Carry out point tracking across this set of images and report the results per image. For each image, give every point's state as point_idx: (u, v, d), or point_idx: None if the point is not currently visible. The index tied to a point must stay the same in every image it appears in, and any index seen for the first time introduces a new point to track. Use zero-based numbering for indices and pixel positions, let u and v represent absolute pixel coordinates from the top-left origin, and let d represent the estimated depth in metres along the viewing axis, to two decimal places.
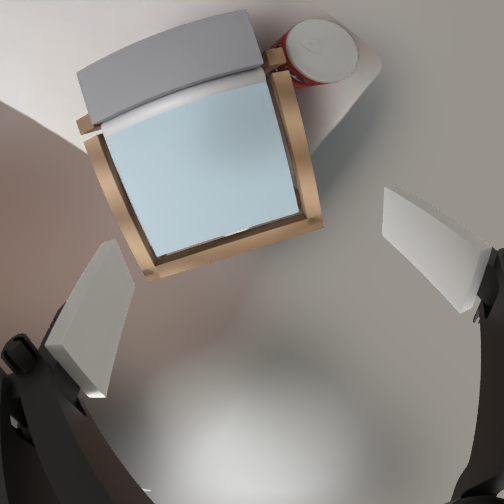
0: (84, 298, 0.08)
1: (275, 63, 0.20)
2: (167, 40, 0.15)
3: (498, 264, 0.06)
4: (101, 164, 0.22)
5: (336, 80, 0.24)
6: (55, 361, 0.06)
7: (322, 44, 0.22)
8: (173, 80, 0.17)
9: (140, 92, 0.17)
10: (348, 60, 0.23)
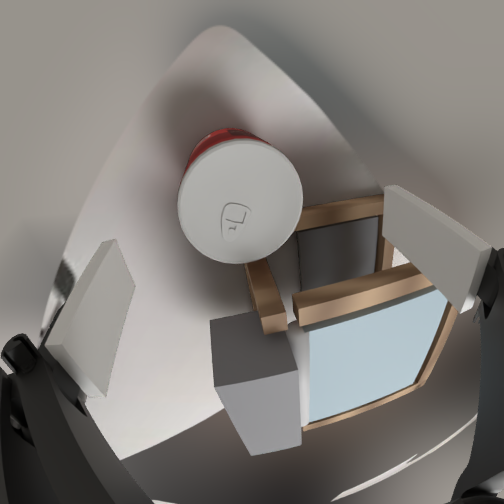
0: (84, 298, 0.08)
1: (285, 323, 0.17)
2: (247, 426, 0.18)
3: (498, 264, 0.06)
4: (327, 421, 0.25)
5: (300, 190, 0.16)
6: (55, 361, 0.06)
7: (231, 208, 0.17)
8: (292, 419, 0.19)
9: (292, 431, 0.20)
10: (258, 161, 0.15)
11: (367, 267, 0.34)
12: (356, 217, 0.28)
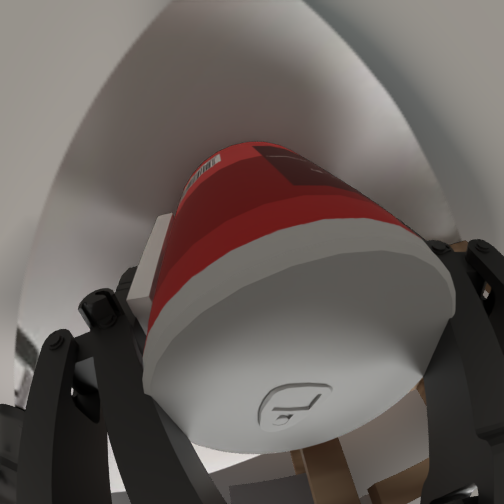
0: (159, 259, 0.10)
1: None
2: None
3: None
4: None
5: None
6: (134, 317, 0.08)
7: (288, 394, 0.06)
8: None
9: None
10: (385, 290, 0.05)
11: None
12: None
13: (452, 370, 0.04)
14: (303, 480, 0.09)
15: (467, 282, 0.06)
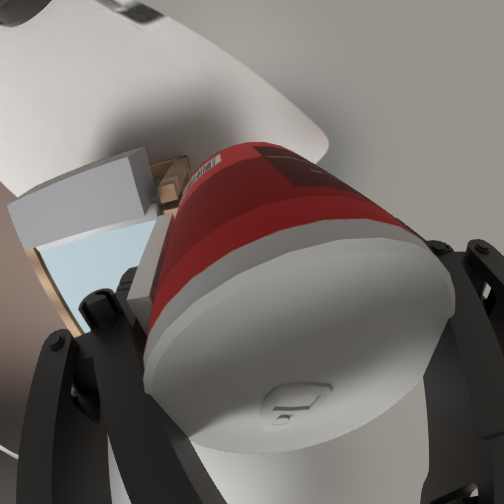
0: (159, 259, 0.10)
1: (166, 200, 0.23)
2: (65, 189, 0.19)
3: None
4: (39, 269, 0.24)
5: None
6: (134, 317, 0.08)
7: (288, 394, 0.06)
8: (74, 227, 0.21)
9: (52, 233, 0.20)
10: (385, 291, 0.05)
11: None
12: None
13: (452, 370, 0.04)
14: (152, 179, 0.25)
15: (467, 282, 0.06)
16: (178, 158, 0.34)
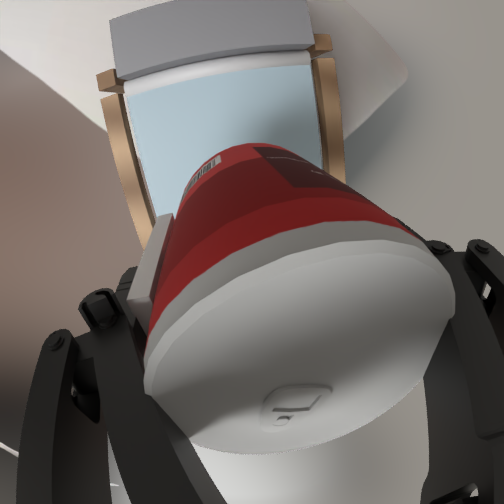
0: (159, 258, 0.10)
1: (321, 49, 0.18)
2: (217, 2, 0.13)
3: None
4: (116, 126, 0.19)
5: None
6: (134, 317, 0.08)
7: (288, 395, 0.06)
8: (217, 43, 0.15)
9: (178, 50, 0.15)
10: (385, 292, 0.05)
11: None
12: None
13: (452, 370, 0.04)
14: None
15: (467, 282, 0.06)
16: None
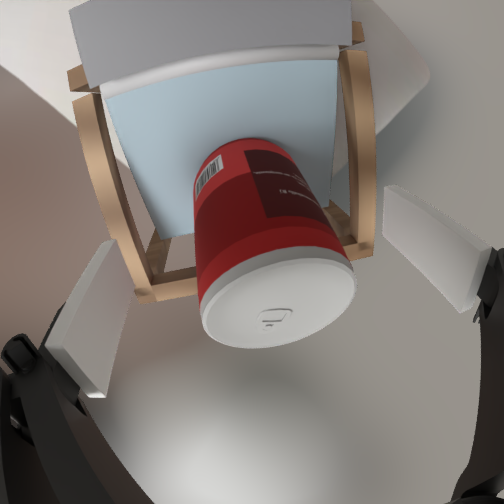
0: (84, 298, 0.08)
1: None
2: None
3: (498, 264, 0.06)
4: (91, 135, 0.14)
5: (354, 289, 0.13)
6: (55, 361, 0.06)
7: (269, 313, 0.13)
8: (224, 39, 0.11)
9: (170, 48, 0.10)
10: (308, 272, 0.11)
11: None
12: None
13: None
14: None
15: None
16: None
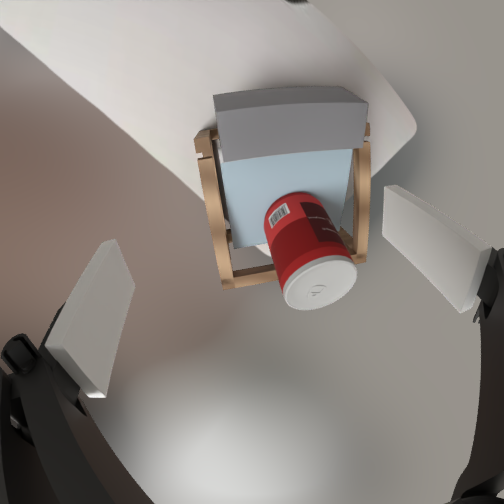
0: (84, 298, 0.08)
1: None
2: (305, 112, 0.22)
3: (498, 264, 0.06)
4: (210, 184, 0.28)
5: (356, 276, 0.27)
6: (55, 361, 0.06)
7: (315, 287, 0.27)
8: (300, 146, 0.25)
9: (272, 148, 0.24)
10: (336, 266, 0.25)
11: None
12: None
13: None
14: None
15: None
16: None
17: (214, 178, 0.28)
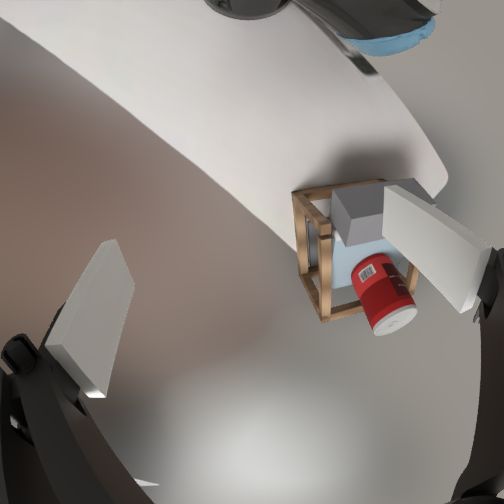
0: (84, 298, 0.08)
1: None
2: None
3: (498, 264, 0.06)
4: (327, 256, 0.39)
5: None
6: (55, 361, 0.06)
7: (392, 322, 0.38)
8: None
9: (376, 237, 0.35)
10: (407, 310, 0.36)
11: None
12: None
13: None
14: None
15: None
16: (380, 180, 0.49)
17: (330, 252, 0.38)
